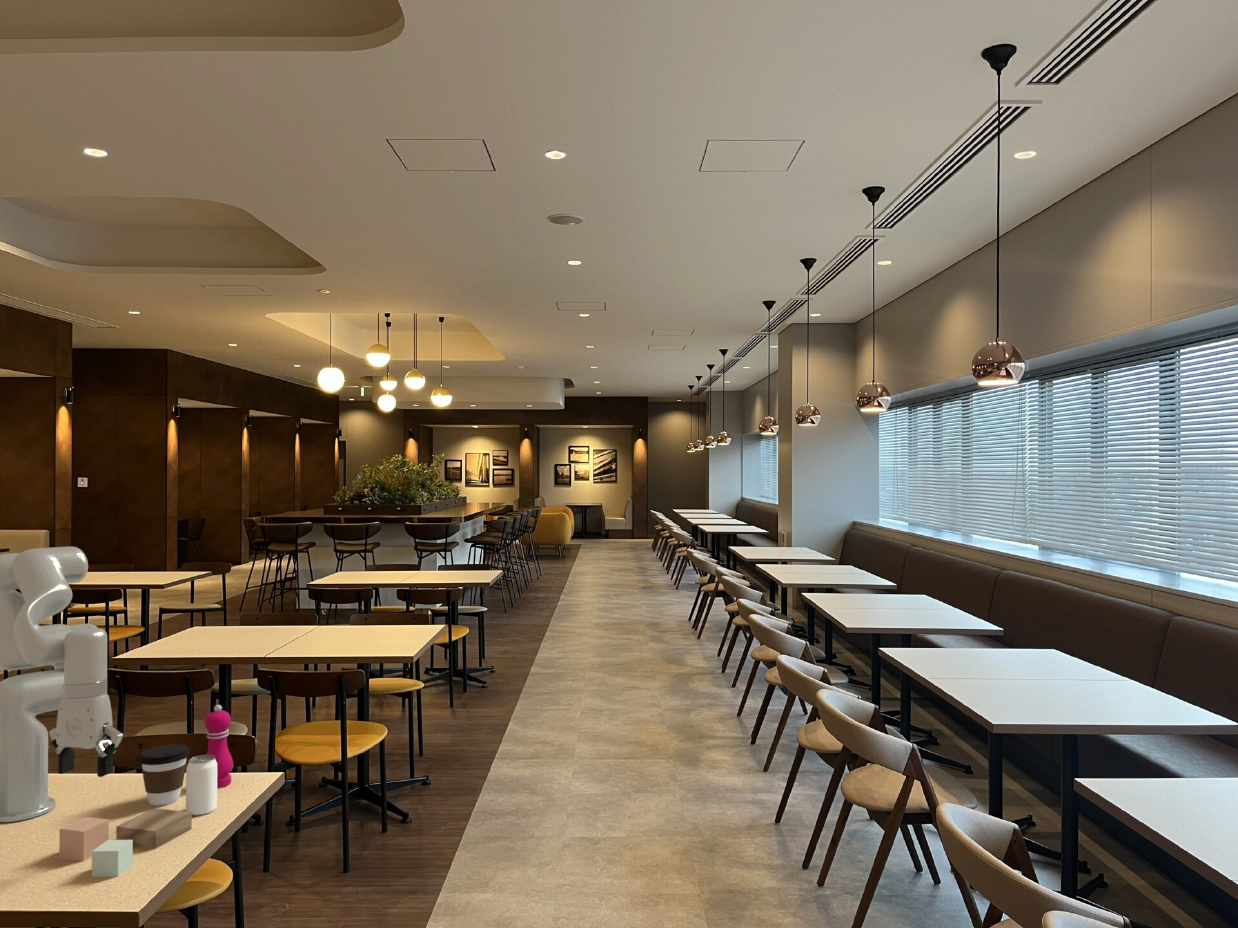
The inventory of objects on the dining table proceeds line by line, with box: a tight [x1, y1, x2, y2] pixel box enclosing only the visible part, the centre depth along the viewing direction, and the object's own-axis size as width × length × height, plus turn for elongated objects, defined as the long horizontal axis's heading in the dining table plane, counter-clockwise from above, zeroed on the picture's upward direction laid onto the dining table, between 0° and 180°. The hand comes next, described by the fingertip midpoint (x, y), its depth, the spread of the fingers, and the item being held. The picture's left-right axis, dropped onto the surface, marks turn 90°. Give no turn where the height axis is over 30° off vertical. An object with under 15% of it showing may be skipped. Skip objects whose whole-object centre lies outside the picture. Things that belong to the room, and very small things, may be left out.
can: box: [185, 754, 218, 817], centre depth 191 cm, size 6×6×12 cm
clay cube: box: [58, 816, 110, 862], centre depth 170 cm, size 6×6×6 cm
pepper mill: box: [204, 704, 234, 789], centre depth 208 cm, size 7×7×20 cm
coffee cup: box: [138, 743, 191, 807], centre depth 197 cm, size 11×11×12 cm
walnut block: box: [115, 807, 193, 850], centre depth 178 cm, size 10×10×4 cm
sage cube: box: [91, 839, 134, 878], centre depth 162 cm, size 5×5×5 cm
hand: (85, 772), depth 170 cm, fingers open, 9 cm apart
